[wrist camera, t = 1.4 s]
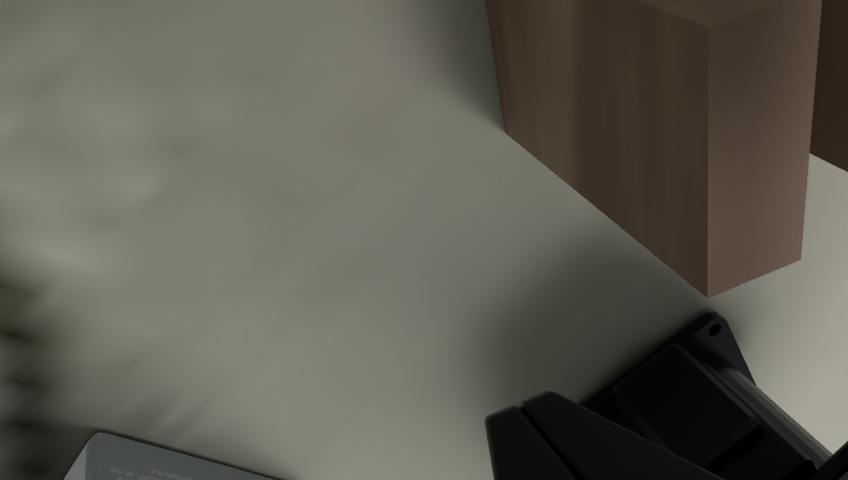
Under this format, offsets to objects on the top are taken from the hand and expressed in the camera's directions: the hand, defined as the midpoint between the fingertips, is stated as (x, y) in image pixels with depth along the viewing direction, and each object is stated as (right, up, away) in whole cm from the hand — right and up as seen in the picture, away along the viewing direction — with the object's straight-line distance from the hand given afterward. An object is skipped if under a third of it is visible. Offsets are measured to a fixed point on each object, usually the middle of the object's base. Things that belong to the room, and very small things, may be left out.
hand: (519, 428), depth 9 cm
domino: (+2, +7, +11) cm, 13 cm away
